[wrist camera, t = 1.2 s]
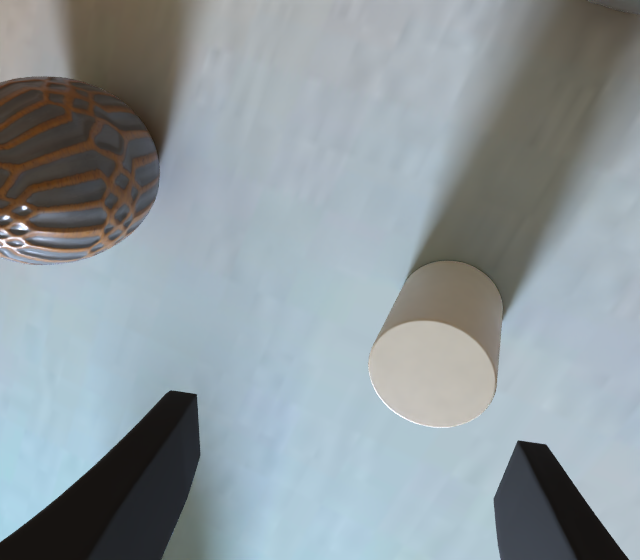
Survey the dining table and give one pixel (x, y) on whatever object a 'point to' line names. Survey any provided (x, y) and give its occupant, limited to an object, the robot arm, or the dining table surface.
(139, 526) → the robot arm
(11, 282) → the dining table surface
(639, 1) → the dark green bowl
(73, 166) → the vase
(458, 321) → the candle
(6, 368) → the dining table surface
